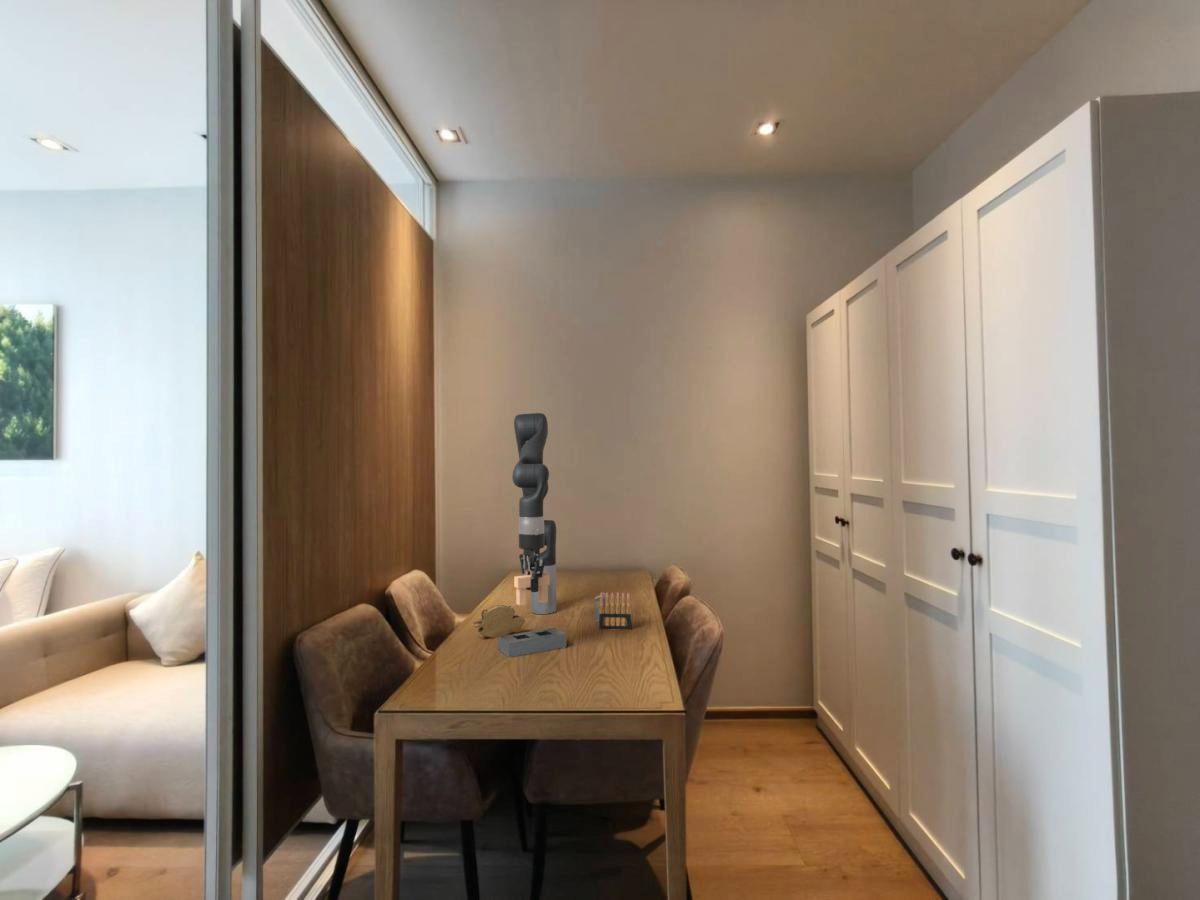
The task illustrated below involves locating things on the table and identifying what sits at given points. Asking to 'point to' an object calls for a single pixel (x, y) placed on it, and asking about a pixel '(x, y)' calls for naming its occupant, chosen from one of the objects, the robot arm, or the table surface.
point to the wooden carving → (499, 621)
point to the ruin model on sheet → (596, 606)
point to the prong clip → (525, 582)
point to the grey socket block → (532, 642)
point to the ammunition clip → (621, 613)
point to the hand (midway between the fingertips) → (532, 590)
